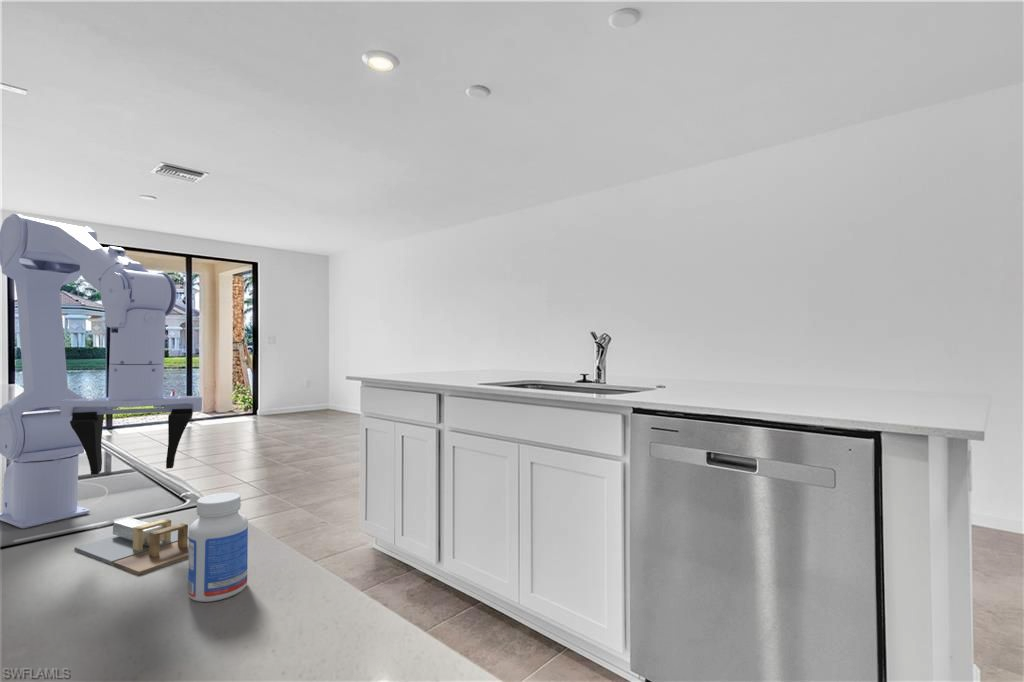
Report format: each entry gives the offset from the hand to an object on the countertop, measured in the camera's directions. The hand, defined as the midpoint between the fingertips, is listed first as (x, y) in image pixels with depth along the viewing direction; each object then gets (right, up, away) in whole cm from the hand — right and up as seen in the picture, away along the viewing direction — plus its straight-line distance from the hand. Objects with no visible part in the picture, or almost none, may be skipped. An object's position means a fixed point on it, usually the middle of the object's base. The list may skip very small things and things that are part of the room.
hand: (134, 469), depth 66 cm
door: (0, -10, 0) cm, 10 cm away
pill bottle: (+18, -10, -12) cm, 24 cm away
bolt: (0, -10, 0) cm, 10 cm away
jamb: (+7, -10, -3) cm, 12 cm away
